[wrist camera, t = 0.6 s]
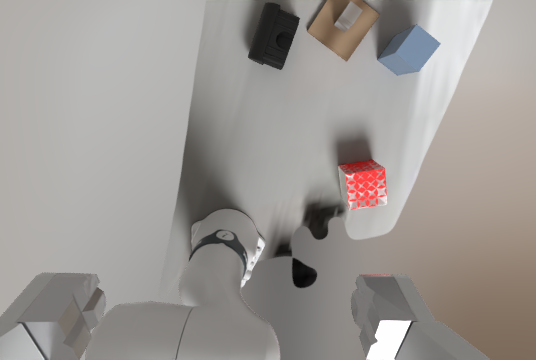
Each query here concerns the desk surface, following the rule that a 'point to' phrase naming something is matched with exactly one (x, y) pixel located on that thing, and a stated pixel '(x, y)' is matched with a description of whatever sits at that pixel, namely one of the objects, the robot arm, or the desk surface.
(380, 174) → the red and white cube
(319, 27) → the base block
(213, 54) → the desk surface
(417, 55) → the tall pale blue prism
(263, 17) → the end cap
